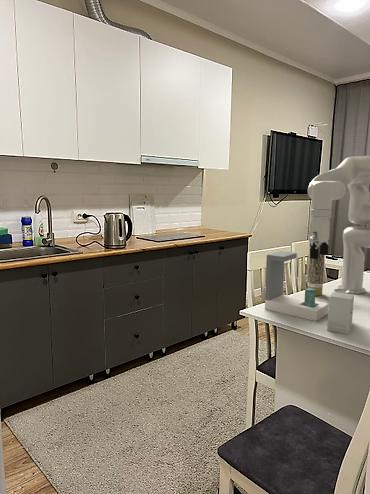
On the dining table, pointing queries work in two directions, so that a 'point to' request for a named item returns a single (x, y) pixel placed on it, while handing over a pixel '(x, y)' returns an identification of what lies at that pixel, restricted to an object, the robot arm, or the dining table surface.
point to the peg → (310, 297)
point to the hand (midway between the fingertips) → (318, 256)
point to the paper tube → (316, 273)
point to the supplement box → (340, 312)
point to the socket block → (285, 302)
